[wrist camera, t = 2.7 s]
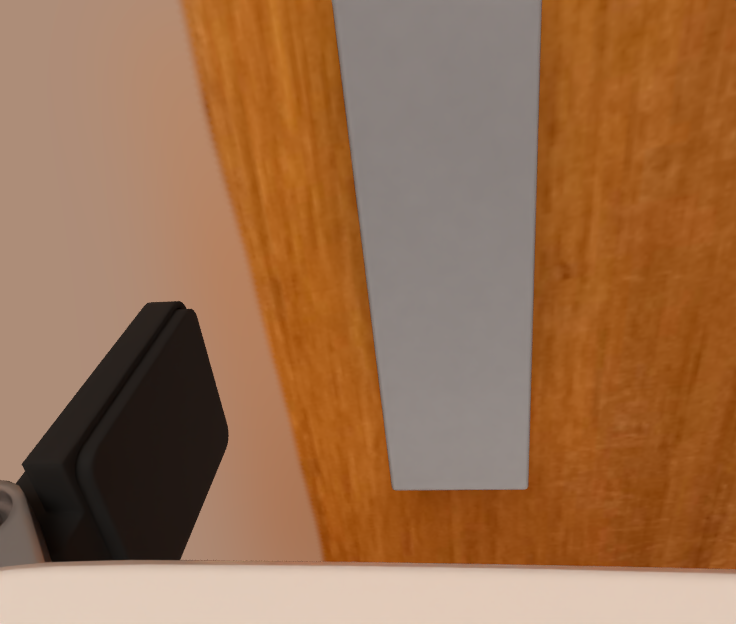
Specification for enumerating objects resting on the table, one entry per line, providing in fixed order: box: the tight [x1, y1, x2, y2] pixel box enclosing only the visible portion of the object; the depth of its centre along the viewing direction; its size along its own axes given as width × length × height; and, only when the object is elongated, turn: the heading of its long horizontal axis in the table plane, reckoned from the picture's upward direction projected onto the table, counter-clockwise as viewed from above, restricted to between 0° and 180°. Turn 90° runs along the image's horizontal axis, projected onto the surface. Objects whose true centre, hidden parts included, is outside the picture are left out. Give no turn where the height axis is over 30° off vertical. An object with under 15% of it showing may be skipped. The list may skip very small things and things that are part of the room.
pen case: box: [332, 0, 542, 490], centre depth 15 cm, size 14×4×4 cm, turn 6°
